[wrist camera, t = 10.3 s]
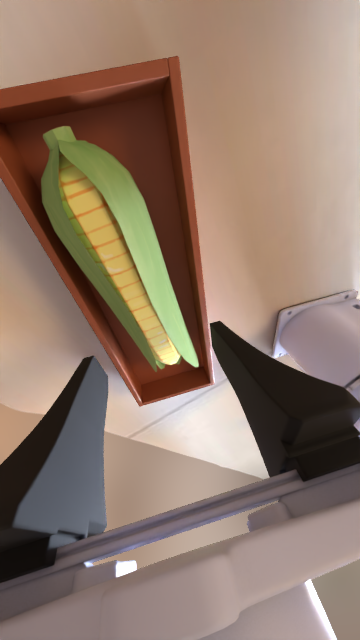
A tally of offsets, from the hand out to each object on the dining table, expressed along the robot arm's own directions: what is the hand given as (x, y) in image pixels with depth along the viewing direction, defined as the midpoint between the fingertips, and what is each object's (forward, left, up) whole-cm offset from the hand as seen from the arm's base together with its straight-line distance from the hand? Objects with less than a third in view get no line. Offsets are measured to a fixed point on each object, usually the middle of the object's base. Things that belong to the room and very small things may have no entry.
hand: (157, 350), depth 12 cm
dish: (0, 0, -7) cm, 7 cm away
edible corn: (0, -1, -7) cm, 7 cm away
